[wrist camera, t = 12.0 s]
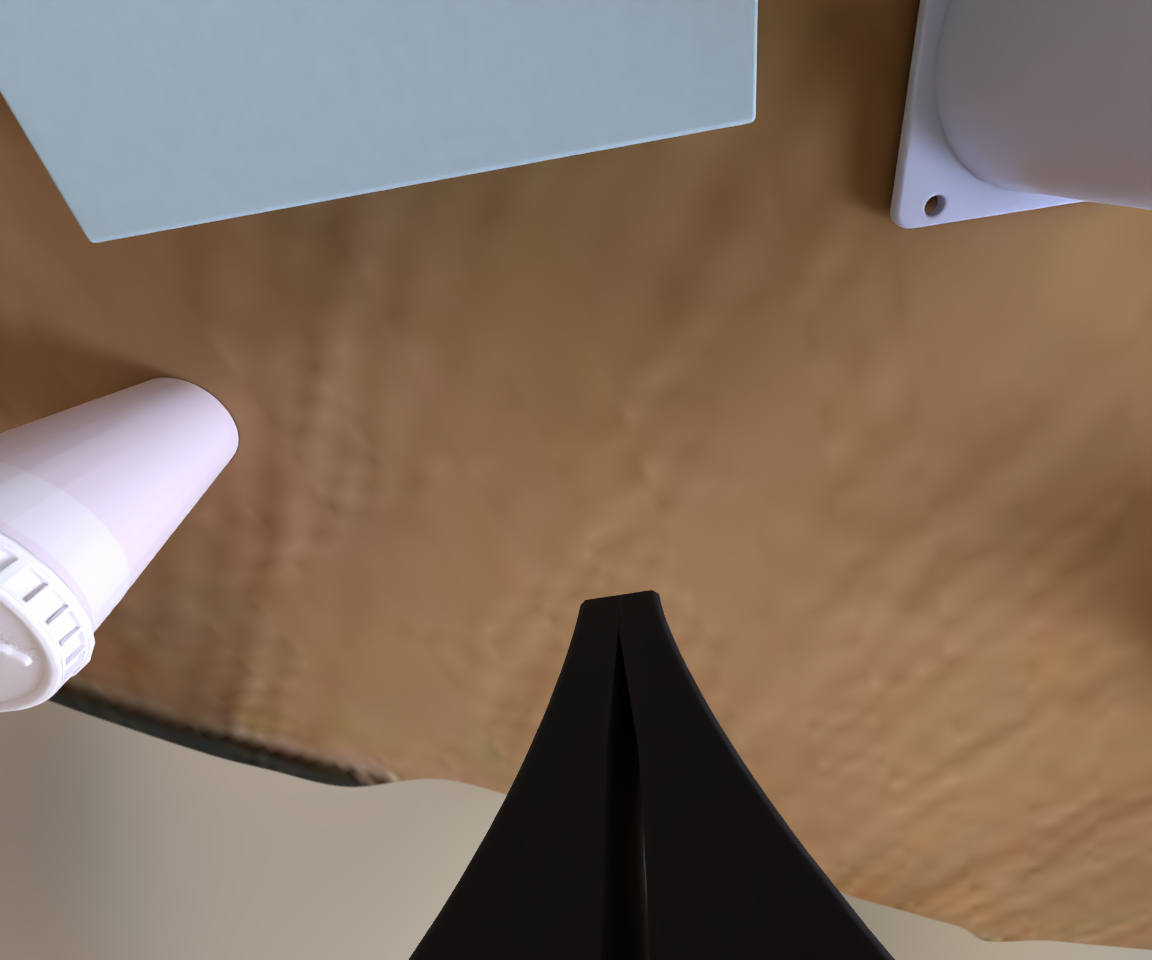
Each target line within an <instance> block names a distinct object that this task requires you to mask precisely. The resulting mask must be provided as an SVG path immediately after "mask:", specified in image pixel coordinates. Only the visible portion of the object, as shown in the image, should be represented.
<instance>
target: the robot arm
mask: <svg viewBox="0 0 1152 960" xmlns="http://www.w3.org/2000/svg"><path fill="white" fill-rule="evenodd" d="M933 196H936V197H937V202H938V203H937V205H936V207H935V209H934V210H933V211H932V212H931V213H929V214H926V213H925V209H924V207H925V205H926V202H927V201H928V200H929V199H930V198H931V197H933ZM1083 201H1090V202H1098V203H1105V204H1113V205H1120V206H1127V207H1135V208H1142V209H1149V210H1152V0H920V5H919V12H918V19H917V26H916V33H915V40H914V47H913V54H912V61H911V68H910V75H909V82H908V89H907V96H906V103H905V111H904V118H903V125H902V132H901V139H900V146H899V153H898V160H897V167H896V174H895V181H894V188H893V195H892V202H891V209H890V215H891V219H892V221H893V223H894V224H896V225H897V226H899V227H902V228H917V227H924V226H930V225H936V224H943V223H949V222H955V221H962V220H968V219H975V218H981V217H987V216H994V215H1000V214H1007V213H1013V212H1019V211H1026V210H1032V209H1038V208H1045V207H1051V206H1058V205H1064V204H1070V203H1077V202H1083ZM409 960H895V959H894V958H893V957H892V956H891V955H890V953H889V952H888V951H887V950H886V949H885V948H884V946H883V945H882V944H881V943H880V942H879V941H878V939H877V938H876V937H875V936H874V934H873V933H872V932H871V931H870V930H869V929H868V927H867V926H866V925H865V924H864V922H863V921H862V920H861V918H860V917H859V916H858V915H857V913H856V912H855V911H854V910H853V908H852V907H851V906H850V905H849V903H848V902H847V901H846V900H845V898H844V897H843V896H842V895H841V893H840V892H839V891H838V889H837V888H836V887H835V886H834V884H833V883H832V882H831V881H830V879H829V878H828V877H827V876H826V874H825V873H824V872H823V871H822V869H821V868H820V867H819V866H818V864H817V863H816V862H815V861H814V859H813V858H812V857H811V855H810V854H809V853H808V852H807V850H806V849H805V848H804V846H803V845H802V844H801V842H800V841H799V840H798V838H797V837H796V836H795V834H794V833H793V832H792V830H791V829H790V828H789V826H788V825H787V823H786V822H785V821H784V819H783V818H782V817H781V815H780V814H779V813H778V811H777V810H776V808H775V807H774V806H773V804H772V803H771V801H770V800H769V799H768V797H767V796H766V794H765V793H764V791H763V790H762V789H761V787H760V786H759V784H758V783H757V781H756V780H755V779H754V777H753V776H752V774H751V773H750V771H749V770H748V768H747V767H746V765H745V764H744V762H743V761H742V759H741V758H740V756H739V755H738V753H737V751H736V750H735V748H734V747H733V745H732V744H731V742H730V740H729V739H728V737H727V736H726V734H725V732H724V731H723V729H722V728H721V726H720V724H719V723H718V721H717V720H716V718H715V716H714V715H713V713H712V711H711V709H710V708H709V706H708V704H707V703H706V701H705V699H704V697H703V695H702V694H701V692H700V690H699V688H698V686H697V684H696V683H695V681H694V679H693V677H692V675H691V673H690V671H689V670H688V668H687V666H686V664H685V662H684V660H683V658H682V656H681V654H680V652H679V649H678V647H677V645H676V643H675V640H674V638H673V636H672V634H671V631H670V629H669V626H668V624H667V621H666V618H665V616H664V612H663V609H662V606H661V602H660V597H659V594H658V593H656V592H654V591H652V590H650V591H643V592H637V593H630V594H623V595H617V596H610V597H603V598H596V599H590V600H585V601H584V602H583V603H582V605H581V606H580V610H579V615H578V619H577V623H576V626H575V630H574V633H573V637H572V640H571V643H570V647H569V650H568V653H567V656H566V659H565V661H564V664H563V667H562V670H561V673H560V675H559V678H558V681H557V683H556V686H555V689H554V691H553V694H552V697H551V699H550V702H549V704H548V707H547V709H546V712H545V714H544V717H543V719H542V721H541V724H540V726H539V728H538V730H537V733H536V735H535V737H534V739H533V742H532V744H531V746H530V748H529V751H528V753H527V755H526V757H525V760H524V762H523V764H522V766H521V768H520V770H519V772H518V774H517V776H516V778H515V780H514V782H513V785H512V787H511V788H510V790H509V792H508V794H507V796H506V799H505V800H504V802H503V804H502V806H501V808H500V810H499V812H498V813H497V815H496V817H495V819H494V821H493V823H492V825H491V827H490V829H489V830H488V832H487V834H486V836H485V837H484V839H483V841H482V843H481V845H480V846H479V848H478V850H477V851H476V853H475V855H474V856H473V858H472V860H471V862H470V863H469V865H468V867H467V869H466V870H465V872H464V874H463V876H462V877H461V879H460V881H459V882H458V884H457V885H456V887H455V889H454V890H453V892H452V894H451V895H450V897H449V899H448V900H447V902H446V904H445V905H444V907H443V908H442V910H441V911H440V913H439V915H438V916H437V918H436V919H435V921H434V922H433V924H432V925H431V927H430V928H429V930H428V931H427V933H426V934H425V936H424V937H423V939H422V940H421V942H420V943H419V945H418V946H417V948H416V950H415V951H414V952H413V954H412V955H411V957H410V958H409Z"/></svg>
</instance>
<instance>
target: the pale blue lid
mask: <svg viewBox="0 0 1152 960" xmlns="http://www.w3.org/2000/svg"><path fill="white" fill-rule="evenodd" d="M757 17H758V0H0V93H1V94H2V96H3V98H4V99H5V101H6V103H7V104H8V106H9V108H10V109H11V111H12V113H13V115H14V116H15V118H16V120H17V121H18V123H19V125H20V126H21V128H22V130H23V131H24V133H25V135H26V136H27V138H28V140H29V141H30V143H31V145H32V146H33V148H34V150H35V151H36V153H37V155H38V156H39V158H40V160H41V161H42V163H43V165H44V166H45V168H46V170H47V171H48V173H49V175H50V177H51V178H52V180H53V182H54V183H55V185H56V187H57V188H58V190H59V192H60V193H61V195H62V197H63V198H64V200H65V202H66V203H67V205H68V207H69V208H70V210H71V212H72V213H73V215H74V217H75V218H76V220H77V222H78V223H79V225H80V227H81V228H82V230H83V232H84V233H85V235H86V237H87V239H88V240H89V241H90V242H94V243H98V242H104V241H109V240H115V239H120V238H126V237H131V236H137V235H142V234H148V233H153V232H158V231H164V230H169V229H175V228H180V227H186V226H191V225H197V224H202V223H208V222H213V221H218V220H224V219H229V218H235V217H240V216H246V215H251V214H257V213H262V212H268V211H273V210H278V209H284V208H289V207H295V206H300V205H306V204H311V203H317V202H322V201H328V200H333V199H338V198H344V197H349V196H355V195H360V194H366V193H371V192H377V191H382V190H388V189H393V188H399V187H404V186H409V185H415V184H420V183H426V182H431V181H437V180H442V179H448V178H453V177H459V176H464V175H469V174H475V173H480V172H486V171H491V170H497V169H502V168H508V167H513V166H519V165H524V164H529V163H535V162H540V161H546V160H551V159H557V158H562V157H568V156H573V155H579V154H584V153H589V152H595V151H600V150H606V149H611V148H617V147H622V146H628V145H633V144H639V143H644V142H649V141H655V140H660V139H666V138H671V137H677V136H682V135H688V134H693V133H699V132H704V131H710V130H715V129H720V128H726V127H731V126H737V125H742V124H748V123H751V122H753V121H754V119H755V116H756V70H757Z"/></svg>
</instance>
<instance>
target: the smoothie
mask: <svg viewBox="0 0 1152 960" xmlns="http://www.w3.org/2000/svg"><path fill="white" fill-rule="evenodd" d="M237 447H238V432H237V428H236V425H235V423H234V421H233V419H232V417H231V415H230V414H229V412H228V411H227V410H226V408H225V407H224V406H223V405H222V404H221V403H220V402H219V401H218V400H217V399H216V398H215V397H214V396H212V395H211V394H210V393H208V392H207V391H205V390H204V389H202V388H200V387H198V386H196V385H194V384H192V383H190V382H187V381H184V380H180V379H176V378H166V377H164V378H155V379H152V380H149V381H146V382H143V383H140V384H137V385H135V386H132V387H129V388H126V389H123V390H120V391H118V392H115V393H112V394H109V395H106V396H104V397H101V398H98V399H95V400H92V401H89V402H87V403H84V404H81V405H78V406H75V407H73V408H70V409H67V410H64V411H61V412H58V413H56V414H53V415H50V416H47V417H44V418H42V419H39V420H36V421H33V422H30V423H27V424H25V425H22V426H19V427H16V428H13V429H11V430H8V431H5V432H2V433H0V712H6V711H15V710H22V709H26V708H30V707H33V706H36V705H38V704H41V703H43V702H45V701H46V700H48V699H49V698H50V697H52V696H53V695H54V694H55V693H56V692H57V691H58V690H59V689H60V687H61V686H62V685H63V684H64V683H65V682H66V681H67V680H68V679H69V678H70V677H72V676H74V675H76V674H77V673H78V672H79V671H80V670H81V669H82V668H83V667H84V666H85V665H86V664H87V663H88V662H89V661H90V659H91V655H92V652H93V648H94V645H95V638H94V634H93V633H94V632H95V631H96V630H97V628H98V627H99V626H100V625H101V624H102V622H103V621H104V620H105V619H106V617H107V616H108V615H109V614H110V613H111V611H112V610H113V609H114V608H115V606H116V605H117V604H118V603H119V601H120V600H121V599H122V598H123V597H124V595H125V593H126V592H127V591H128V589H129V588H130V587H131V586H132V584H133V583H134V582H135V580H136V579H137V578H138V577H139V575H140V574H141V573H142V572H143V570H144V569H145V568H146V566H147V565H148V564H149V563H150V561H151V560H152V559H153V558H154V556H155V555H156V554H157V552H158V551H159V550H160V549H161V547H162V546H163V545H164V544H165V542H166V541H167V540H168V538H169V537H170V536H171V535H172V533H173V532H174V531H175V530H176V528H177V527H178V526H179V524H180V523H181V522H182V521H183V519H184V518H185V517H186V516H187V514H188V513H189V512H190V510H191V509H192V508H193V507H194V505H195V504H196V503H197V502H198V500H199V499H200V498H201V496H202V495H203V494H204V493H205V491H206V490H207V489H208V488H209V486H210V485H211V484H212V482H213V481H214V480H215V479H216V477H217V476H218V475H219V474H220V472H221V471H222V470H223V468H224V467H225V466H226V465H227V463H228V462H229V461H230V460H231V458H232V457H233V456H234V454H235V453H236V450H237Z"/></svg>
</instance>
